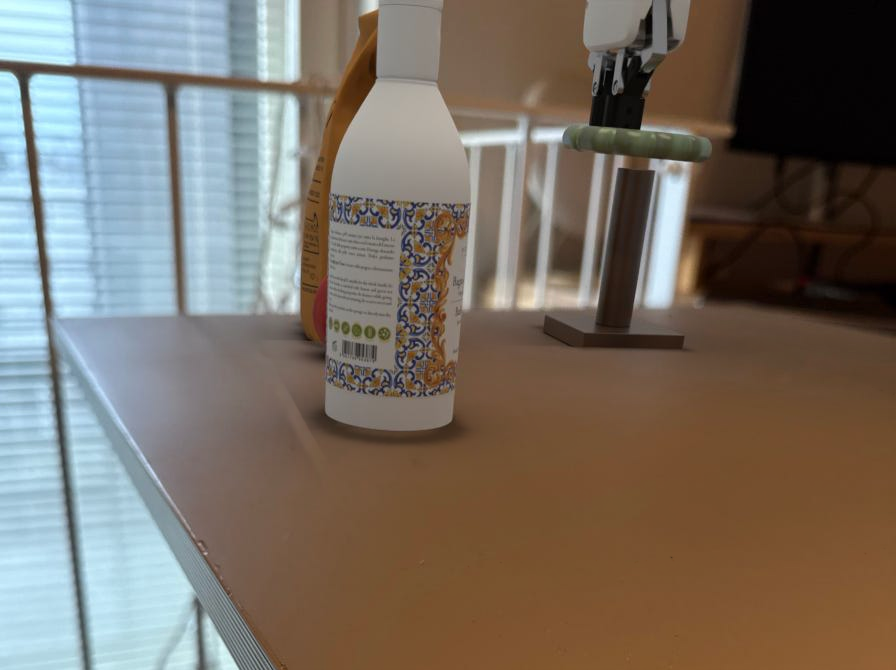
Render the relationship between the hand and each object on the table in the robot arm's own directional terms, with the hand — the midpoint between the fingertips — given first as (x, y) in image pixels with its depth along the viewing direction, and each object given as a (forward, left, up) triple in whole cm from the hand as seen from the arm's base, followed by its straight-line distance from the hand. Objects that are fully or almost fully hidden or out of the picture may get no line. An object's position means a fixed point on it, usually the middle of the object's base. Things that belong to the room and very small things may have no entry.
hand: (610, 149), depth 81 cm
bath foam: (+26, +33, -15) cm, 44 cm away
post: (0, +5, -15) cm, 16 cm away
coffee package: (+22, +6, -15) cm, 27 cm away
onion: (+25, +18, -15) cm, 34 cm away
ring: (0, +5, 0) cm, 5 cm away
